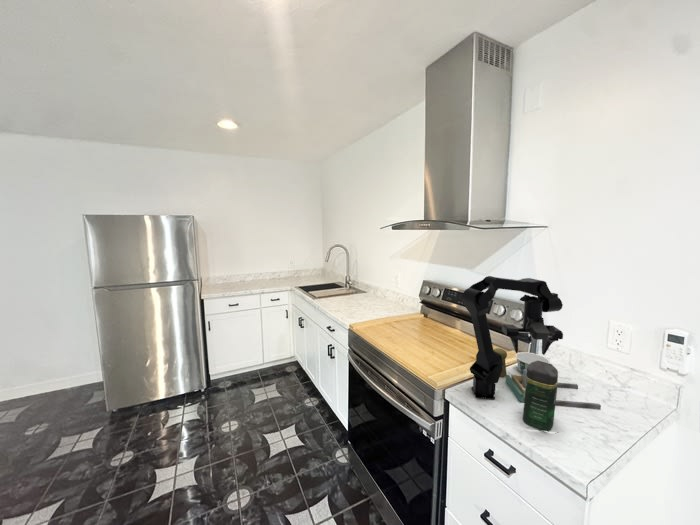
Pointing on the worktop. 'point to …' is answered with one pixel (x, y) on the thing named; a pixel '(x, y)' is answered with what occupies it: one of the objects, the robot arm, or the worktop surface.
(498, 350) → the cork
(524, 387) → the block
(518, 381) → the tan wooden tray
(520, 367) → the food container
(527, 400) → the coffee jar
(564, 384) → the bay
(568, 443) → the worktop surface
